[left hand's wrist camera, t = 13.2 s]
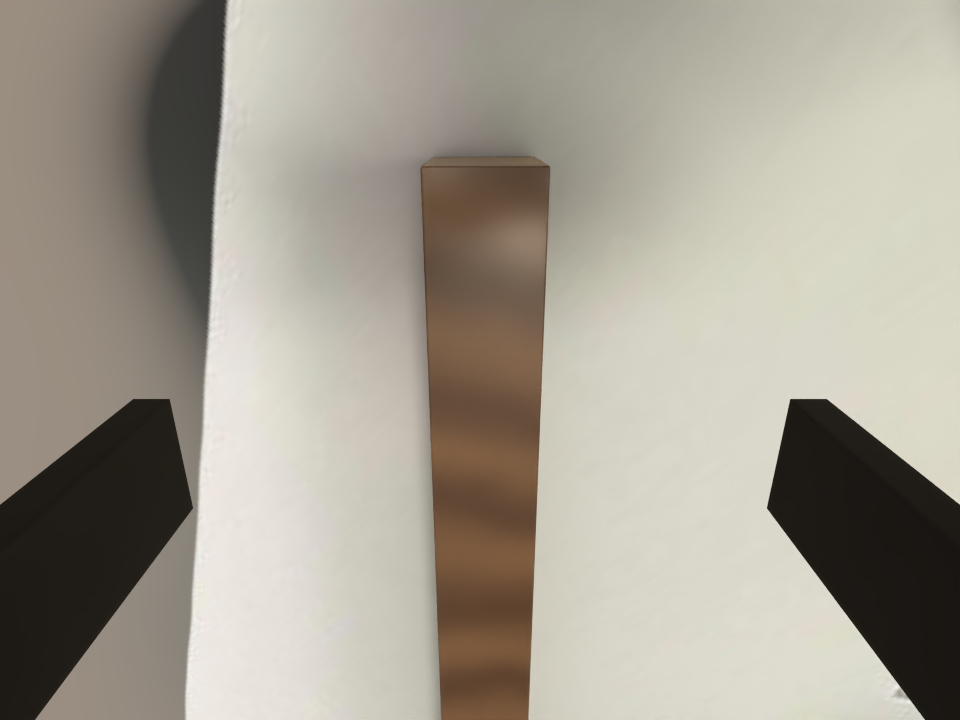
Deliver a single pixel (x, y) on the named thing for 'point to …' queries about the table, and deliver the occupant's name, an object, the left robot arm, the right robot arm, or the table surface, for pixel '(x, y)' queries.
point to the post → (485, 420)
